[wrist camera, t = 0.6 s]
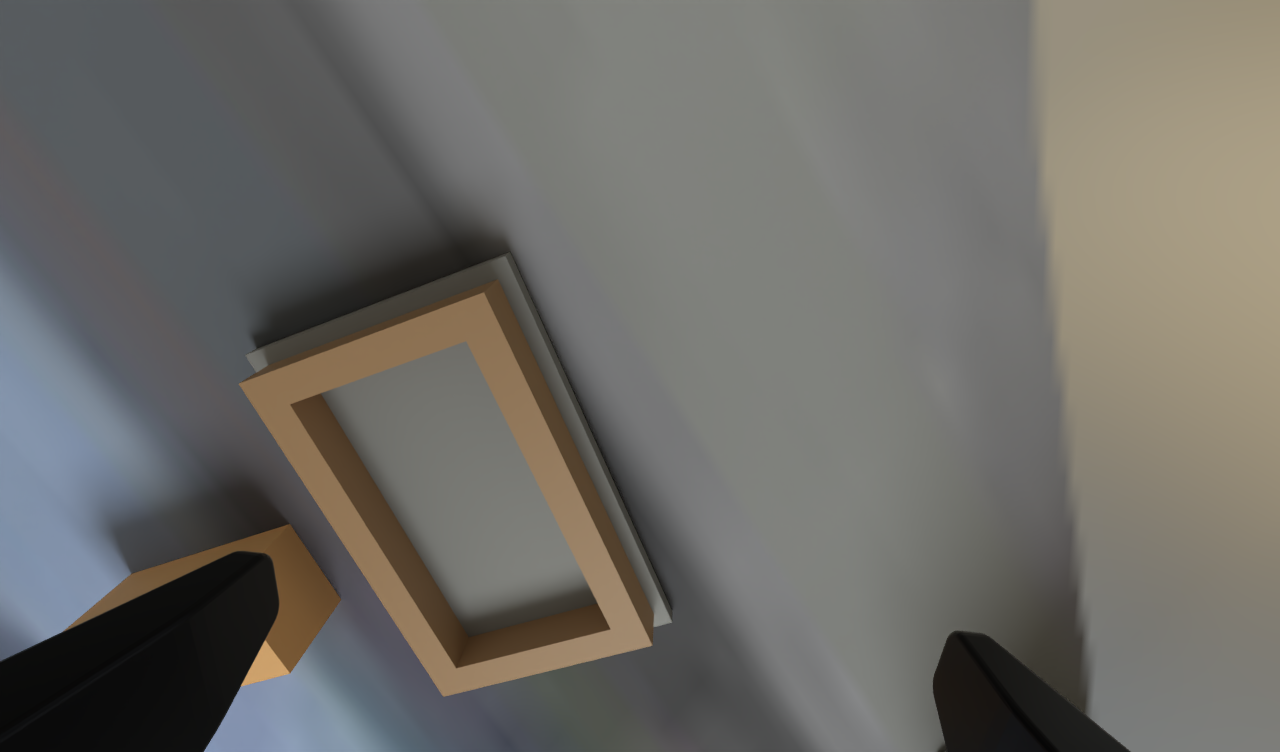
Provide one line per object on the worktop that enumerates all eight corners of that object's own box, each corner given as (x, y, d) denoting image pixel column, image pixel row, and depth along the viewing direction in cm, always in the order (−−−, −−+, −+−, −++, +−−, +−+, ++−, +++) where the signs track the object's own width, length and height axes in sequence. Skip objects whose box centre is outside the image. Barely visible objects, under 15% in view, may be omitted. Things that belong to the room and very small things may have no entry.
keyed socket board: (672, 611, 26) (671, 653, 24) (455, 666, 28) (438, 710, 26) (509, 252, 21) (491, 267, 19) (255, 349, 23) (214, 372, 21)
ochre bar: (292, 521, 26) (227, 590, 22) (343, 596, 27) (290, 673, 23) (134, 570, 27) (49, 643, 23) (190, 640, 29) (117, 718, 25)
